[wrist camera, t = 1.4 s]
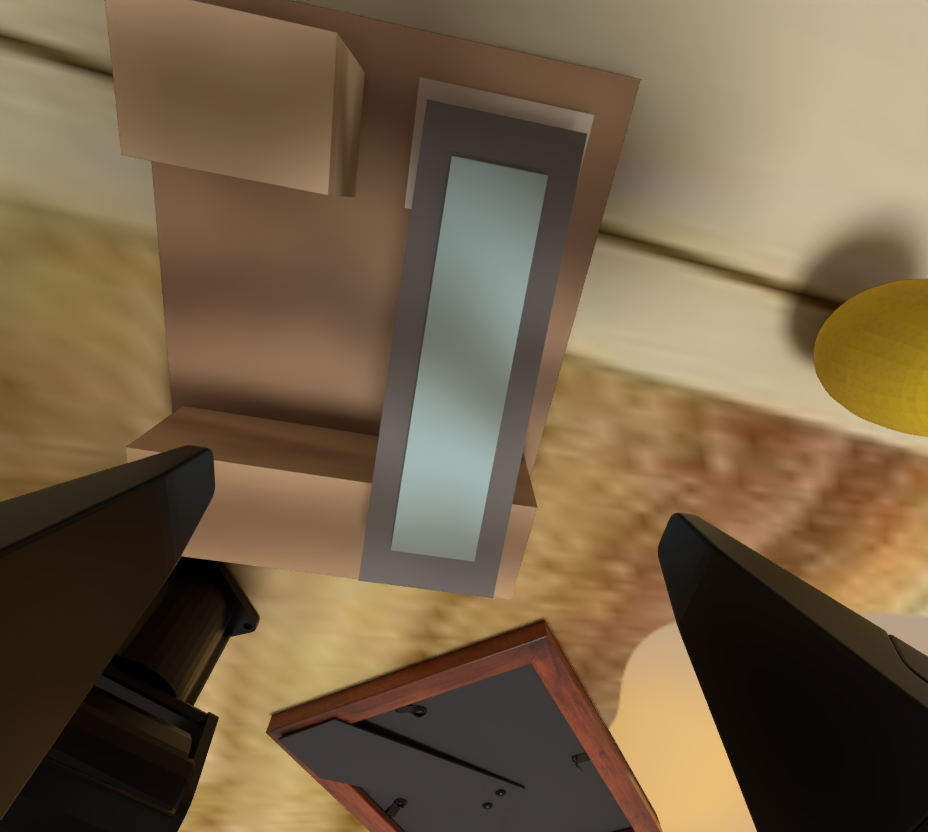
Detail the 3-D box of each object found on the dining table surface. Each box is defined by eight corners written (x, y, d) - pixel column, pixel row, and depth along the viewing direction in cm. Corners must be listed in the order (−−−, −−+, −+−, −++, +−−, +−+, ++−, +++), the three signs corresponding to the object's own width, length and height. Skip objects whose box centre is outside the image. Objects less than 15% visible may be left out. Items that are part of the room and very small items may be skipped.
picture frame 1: (487, 570, 19) (493, 602, 17) (367, 553, 19) (357, 584, 17) (569, 156, 16) (590, 129, 14) (428, 127, 16) (426, 94, 14)
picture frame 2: (275, 707, 32) (439, 870, 42) (264, 737, 30) (438, 900, 40) (542, 612, 29) (656, 813, 38) (547, 639, 27) (666, 844, 36)
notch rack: (508, 537, 26) (518, 608, 21) (190, 492, 24) (128, 558, 20) (631, 86, 17) (692, 42, 13) (153, -22, 16) (29, -113, 11)
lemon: (926, 276, 20) (1192, 316, 13) (863, 394, 22) (1059, 485, 15) (805, 257, 20) (1007, 287, 12) (754, 379, 22) (900, 466, 15)
